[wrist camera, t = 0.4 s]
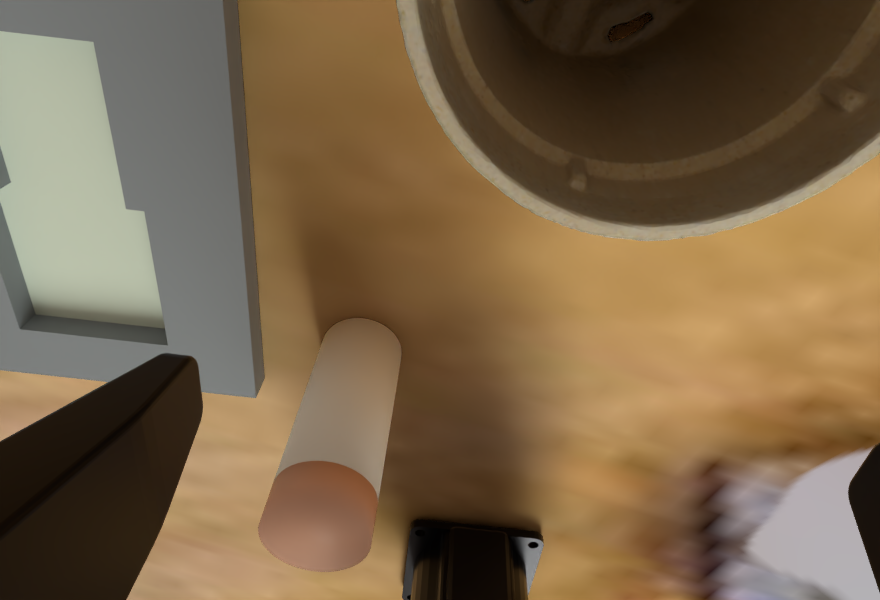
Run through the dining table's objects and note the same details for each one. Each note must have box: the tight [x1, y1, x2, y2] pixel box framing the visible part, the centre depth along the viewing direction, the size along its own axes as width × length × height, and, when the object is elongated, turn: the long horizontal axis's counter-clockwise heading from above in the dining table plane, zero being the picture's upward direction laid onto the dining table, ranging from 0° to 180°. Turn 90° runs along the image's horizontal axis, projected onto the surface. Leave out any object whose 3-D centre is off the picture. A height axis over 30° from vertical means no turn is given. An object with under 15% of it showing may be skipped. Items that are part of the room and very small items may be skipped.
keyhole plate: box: [0, 0, 264, 398], centre depth 21 cm, size 16×12×1 cm
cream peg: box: [258, 318, 402, 572], centre depth 21 cm, size 3×3×9 cm
